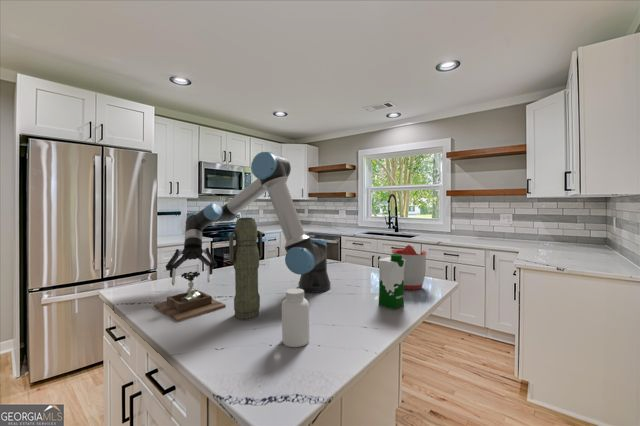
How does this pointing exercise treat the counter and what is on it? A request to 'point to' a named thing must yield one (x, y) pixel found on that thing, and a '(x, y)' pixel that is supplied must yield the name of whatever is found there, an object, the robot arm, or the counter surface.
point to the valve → (191, 287)
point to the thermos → (246, 268)
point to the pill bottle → (295, 318)
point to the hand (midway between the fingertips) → (191, 282)
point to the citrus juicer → (412, 267)
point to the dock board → (188, 306)
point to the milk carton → (391, 281)
